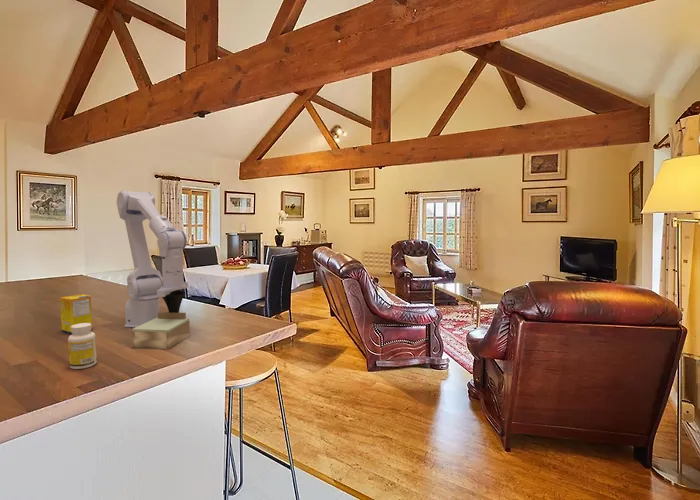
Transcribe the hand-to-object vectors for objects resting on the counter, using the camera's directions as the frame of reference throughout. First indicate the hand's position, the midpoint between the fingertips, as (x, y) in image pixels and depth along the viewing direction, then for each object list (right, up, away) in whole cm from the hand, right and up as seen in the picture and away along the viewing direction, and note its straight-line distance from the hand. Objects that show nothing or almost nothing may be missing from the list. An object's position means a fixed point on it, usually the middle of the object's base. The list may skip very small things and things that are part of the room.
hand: (174, 316), depth 117 cm
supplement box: (-31, -5, +3) cm, 32 cm away
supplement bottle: (-10, -8, -24) cm, 28 cm away
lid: (0, -2, -6) cm, 7 cm away
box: (0, -6, -6) cm, 9 cm away
